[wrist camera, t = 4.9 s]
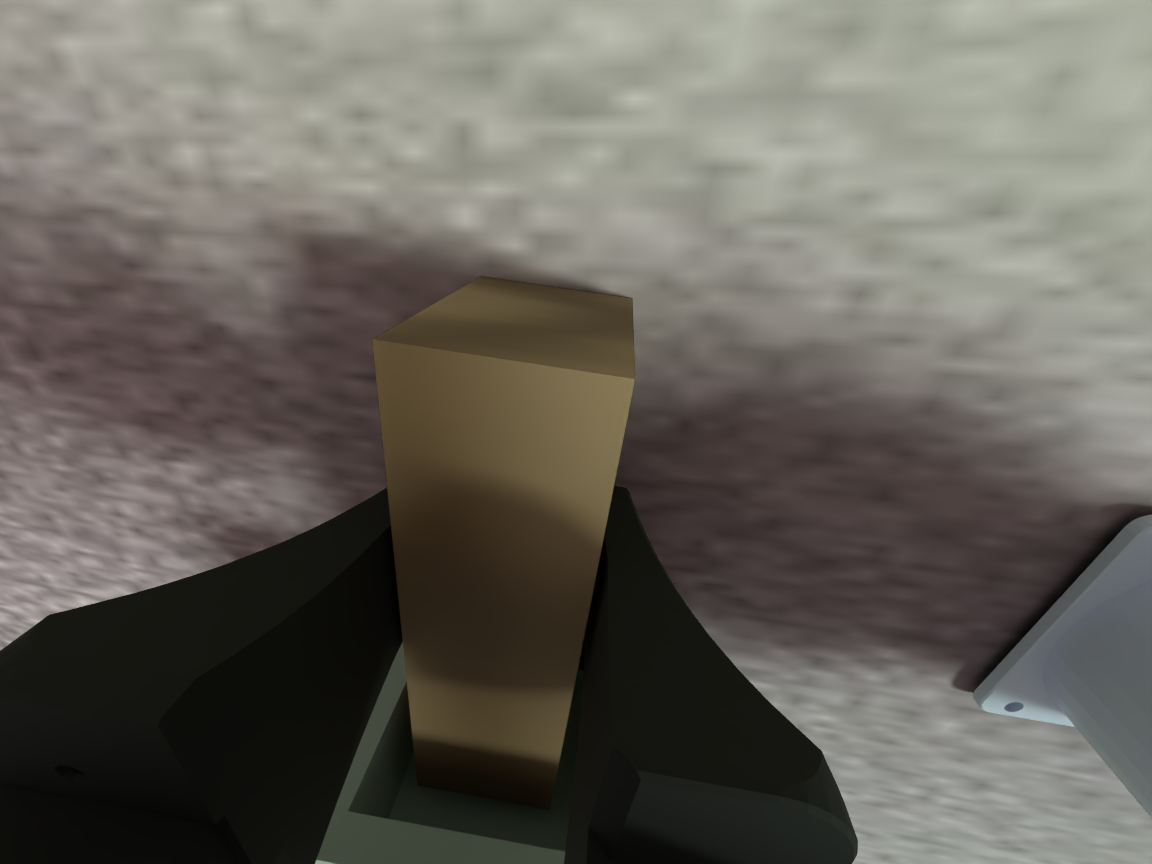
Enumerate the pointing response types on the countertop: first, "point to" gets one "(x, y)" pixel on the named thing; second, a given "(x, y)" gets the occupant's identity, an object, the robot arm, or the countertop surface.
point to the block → (438, 801)
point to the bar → (500, 518)
